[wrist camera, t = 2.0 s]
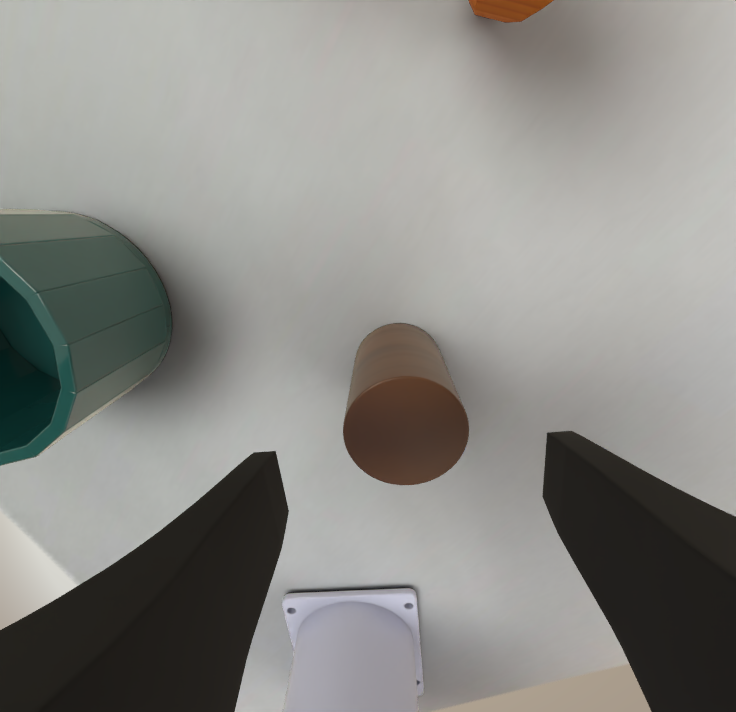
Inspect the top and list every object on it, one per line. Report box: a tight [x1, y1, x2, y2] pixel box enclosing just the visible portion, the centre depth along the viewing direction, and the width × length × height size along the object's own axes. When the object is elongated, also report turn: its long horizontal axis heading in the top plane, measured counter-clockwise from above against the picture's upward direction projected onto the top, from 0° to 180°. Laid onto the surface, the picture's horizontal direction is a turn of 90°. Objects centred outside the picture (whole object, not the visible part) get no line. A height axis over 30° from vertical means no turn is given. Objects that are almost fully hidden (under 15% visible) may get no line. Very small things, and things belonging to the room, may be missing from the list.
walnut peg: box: [343, 323, 469, 485], centre depth 15 cm, size 4×4×6 cm
